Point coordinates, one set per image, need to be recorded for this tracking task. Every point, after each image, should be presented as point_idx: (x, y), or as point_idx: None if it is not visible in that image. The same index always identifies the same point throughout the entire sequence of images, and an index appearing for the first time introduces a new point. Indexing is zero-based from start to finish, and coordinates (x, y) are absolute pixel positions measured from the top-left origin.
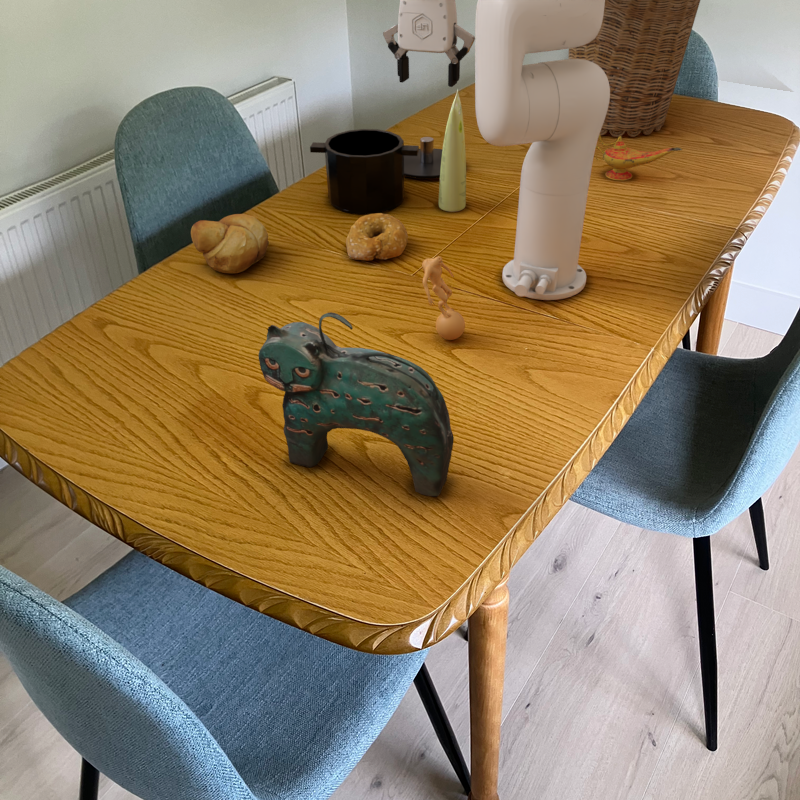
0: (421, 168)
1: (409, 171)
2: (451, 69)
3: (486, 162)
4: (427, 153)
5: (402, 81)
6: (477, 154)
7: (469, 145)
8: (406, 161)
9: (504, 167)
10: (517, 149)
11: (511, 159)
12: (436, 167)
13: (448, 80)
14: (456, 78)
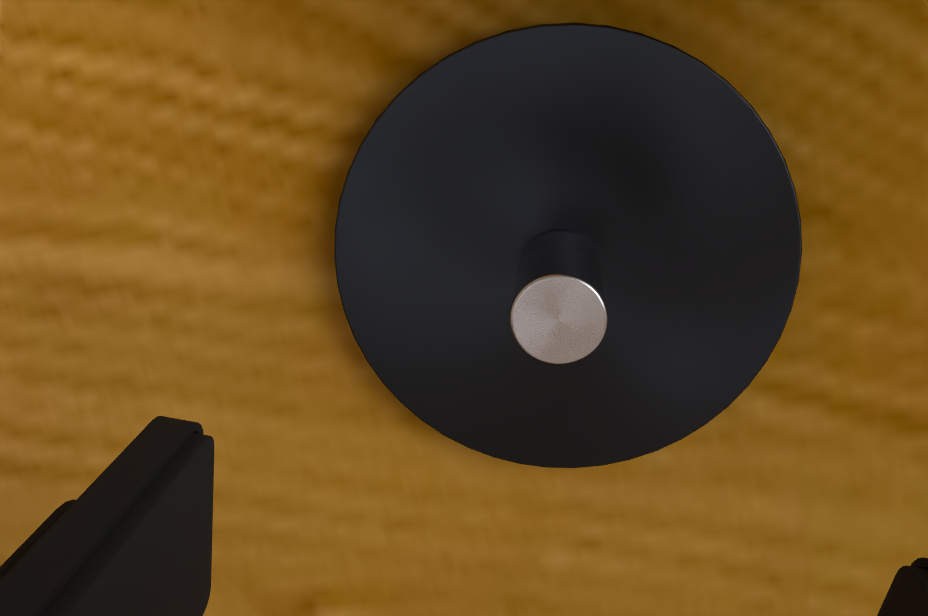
0: (572, 151)
1: (642, 84)
2: (18, 562)
3: (251, 378)
4: (547, 251)
5: (920, 566)
6: (324, 473)
7: (392, 578)
8: (689, 249)
9: (145, 326)
10: None
11: None
12: (480, 183)
13: (174, 469)
14: (58, 510)
